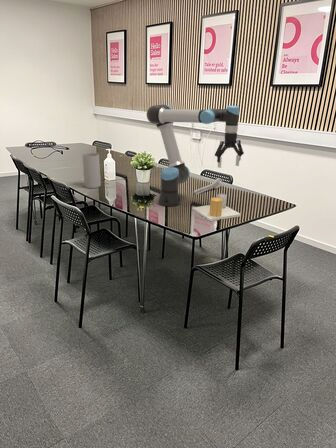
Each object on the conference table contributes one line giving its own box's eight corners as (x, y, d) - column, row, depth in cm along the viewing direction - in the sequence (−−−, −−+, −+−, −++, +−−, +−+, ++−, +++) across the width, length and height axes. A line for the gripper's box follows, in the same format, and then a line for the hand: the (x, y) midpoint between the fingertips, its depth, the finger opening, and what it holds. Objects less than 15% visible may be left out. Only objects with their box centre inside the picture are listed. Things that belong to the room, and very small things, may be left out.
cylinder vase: (102, 184, 271) (100, 153, 261) (98, 188, 259) (96, 156, 250) (87, 183, 272) (85, 152, 262) (82, 188, 260) (79, 155, 251)
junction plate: (192, 209, 218) (192, 195, 214) (221, 205, 226) (222, 191, 223) (209, 221, 199) (210, 206, 196) (240, 216, 208) (241, 201, 204)
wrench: (193, 198, 251) (220, 186, 267) (195, 198, 250) (222, 187, 266) (193, 187, 247) (220, 177, 264) (195, 188, 246) (222, 177, 263)
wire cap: (207, 213, 207) (208, 198, 204) (217, 212, 210) (218, 196, 206) (213, 217, 201) (214, 201, 198) (223, 215, 204) (224, 200, 200)
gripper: (217, 134, 199) (214, 169, 207) (251, 132, 209) (248, 166, 217) (210, 132, 206) (208, 166, 214) (244, 130, 215) (241, 163, 223)
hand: (228, 166), depth 215 cm, fingers open, 13 cm apart
